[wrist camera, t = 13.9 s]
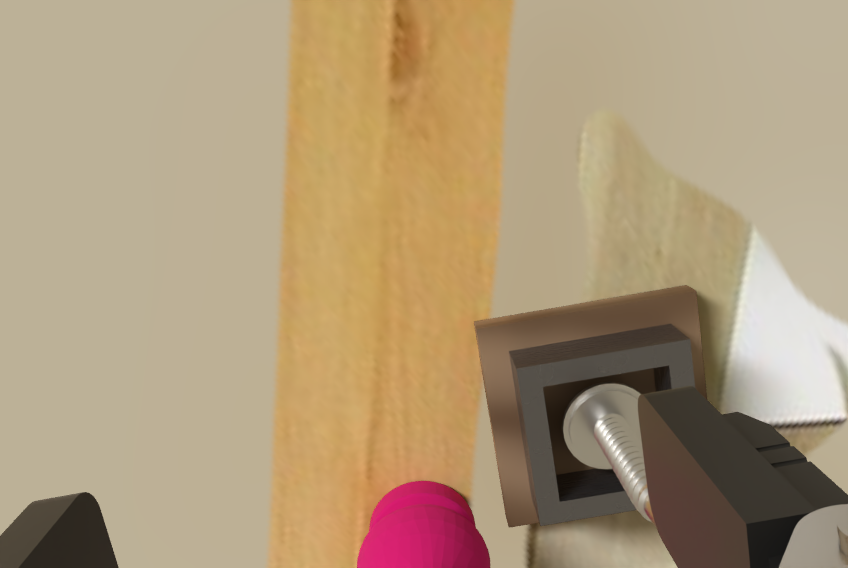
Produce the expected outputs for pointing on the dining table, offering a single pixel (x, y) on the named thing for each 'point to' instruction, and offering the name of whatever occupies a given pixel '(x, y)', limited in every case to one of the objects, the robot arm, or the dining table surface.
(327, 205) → the dining table surface
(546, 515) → the socket
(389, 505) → the pepper mill
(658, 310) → the walnut board
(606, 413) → the screw
